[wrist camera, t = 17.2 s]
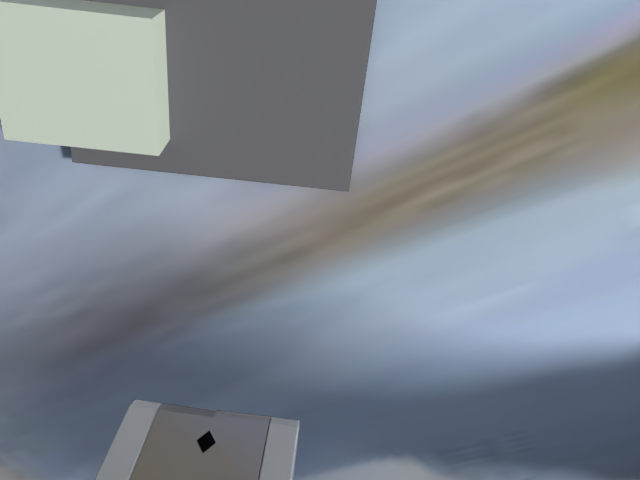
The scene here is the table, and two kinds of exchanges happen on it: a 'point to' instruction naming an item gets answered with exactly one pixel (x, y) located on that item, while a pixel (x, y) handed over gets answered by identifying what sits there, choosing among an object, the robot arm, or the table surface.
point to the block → (84, 75)
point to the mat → (259, 90)
